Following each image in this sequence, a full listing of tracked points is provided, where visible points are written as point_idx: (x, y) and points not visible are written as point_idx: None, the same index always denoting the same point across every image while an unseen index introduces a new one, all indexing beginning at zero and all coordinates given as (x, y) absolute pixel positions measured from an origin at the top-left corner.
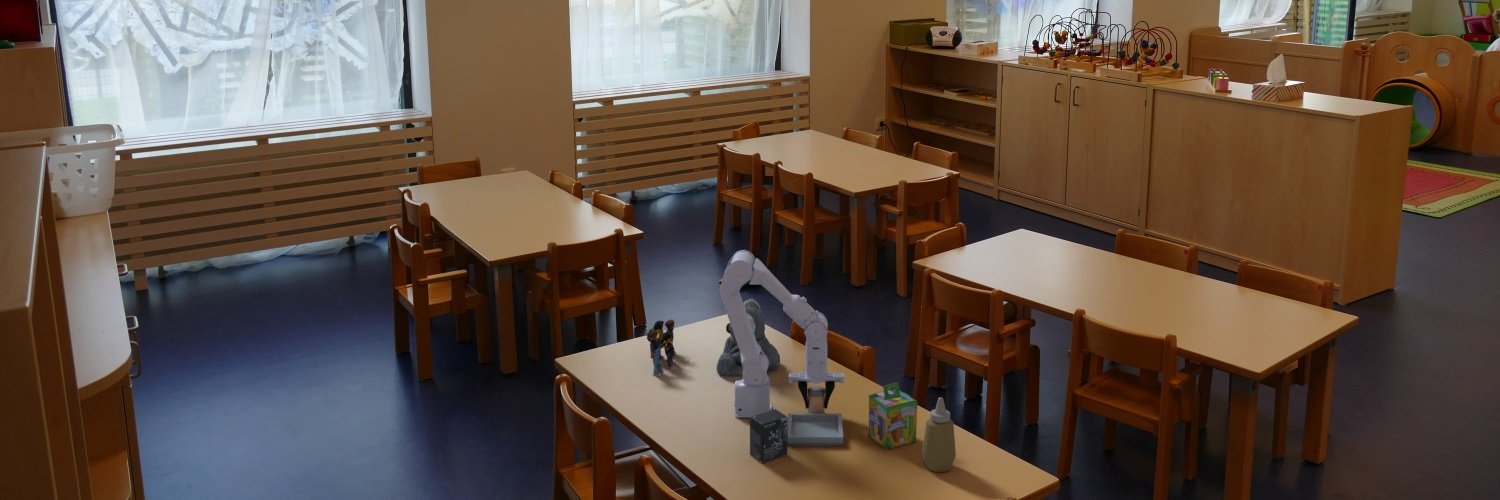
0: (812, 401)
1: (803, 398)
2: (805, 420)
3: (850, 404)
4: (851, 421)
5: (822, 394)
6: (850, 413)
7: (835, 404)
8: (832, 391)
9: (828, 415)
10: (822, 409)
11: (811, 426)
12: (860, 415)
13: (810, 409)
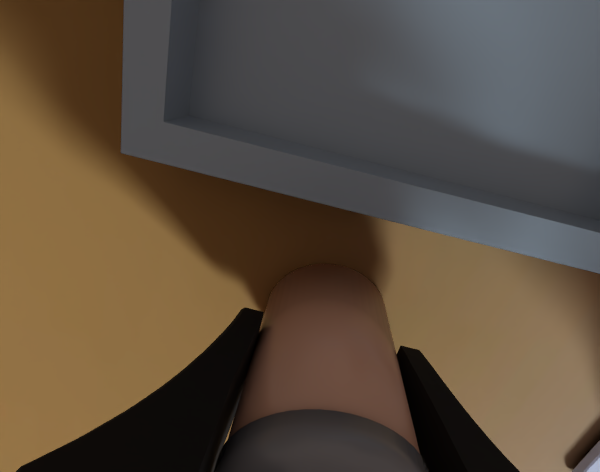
0: (386, 376)
1: (487, 438)
2: (481, 189)
3: (83, 372)
4: (80, 128)
5: (260, 432)
6: (86, 262)
7: None
8: (83, 435)
9: (263, 148)
10: (286, 302)
11: (483, 35)
12: (13, 215)
13: (387, 326)
